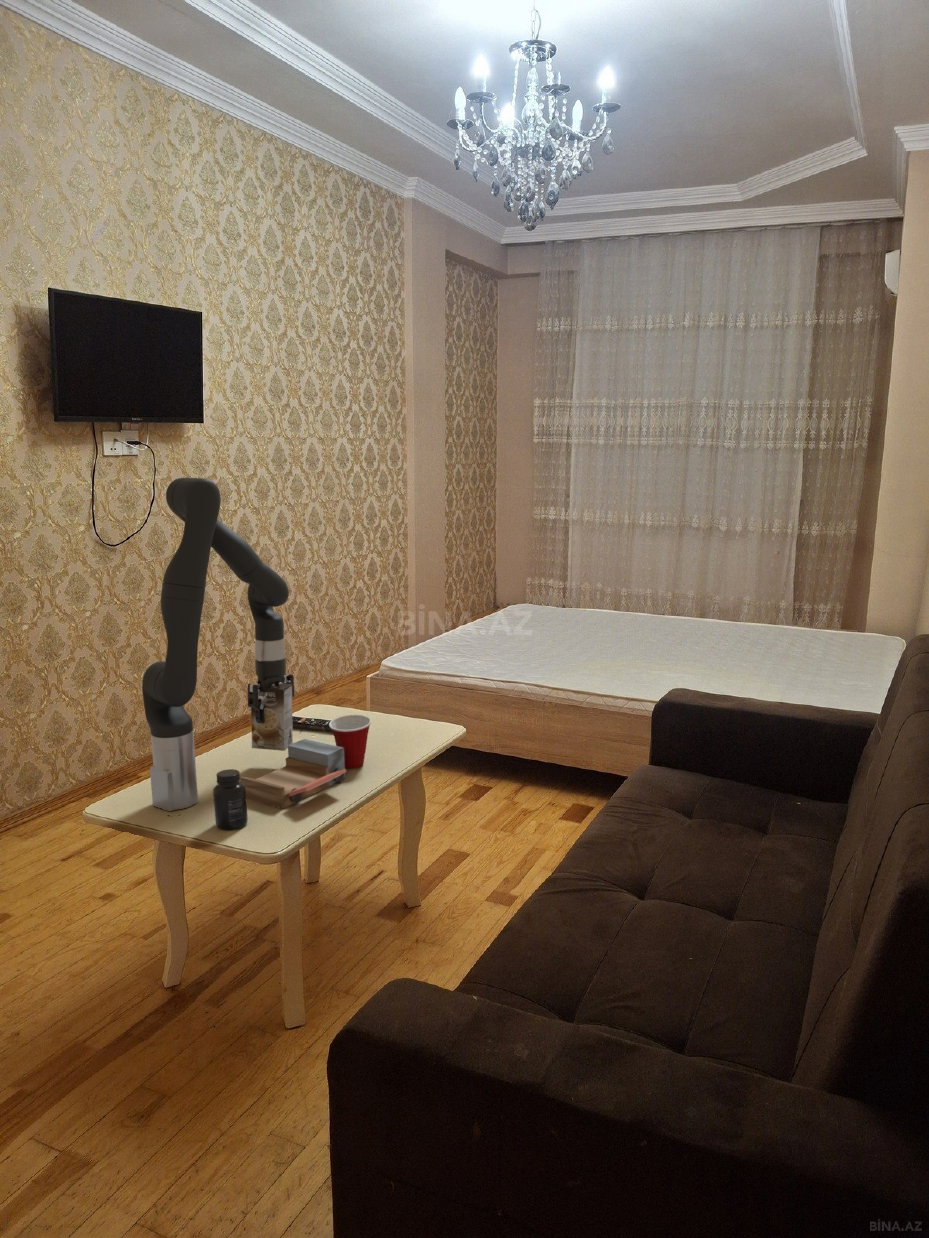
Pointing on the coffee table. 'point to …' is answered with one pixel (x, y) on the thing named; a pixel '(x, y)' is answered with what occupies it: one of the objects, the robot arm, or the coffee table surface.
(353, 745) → the plastic cup
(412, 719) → the coffee table surface
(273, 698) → the coffee box
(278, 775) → the wooden tray with block
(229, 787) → the supplement bottle
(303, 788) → the panel
